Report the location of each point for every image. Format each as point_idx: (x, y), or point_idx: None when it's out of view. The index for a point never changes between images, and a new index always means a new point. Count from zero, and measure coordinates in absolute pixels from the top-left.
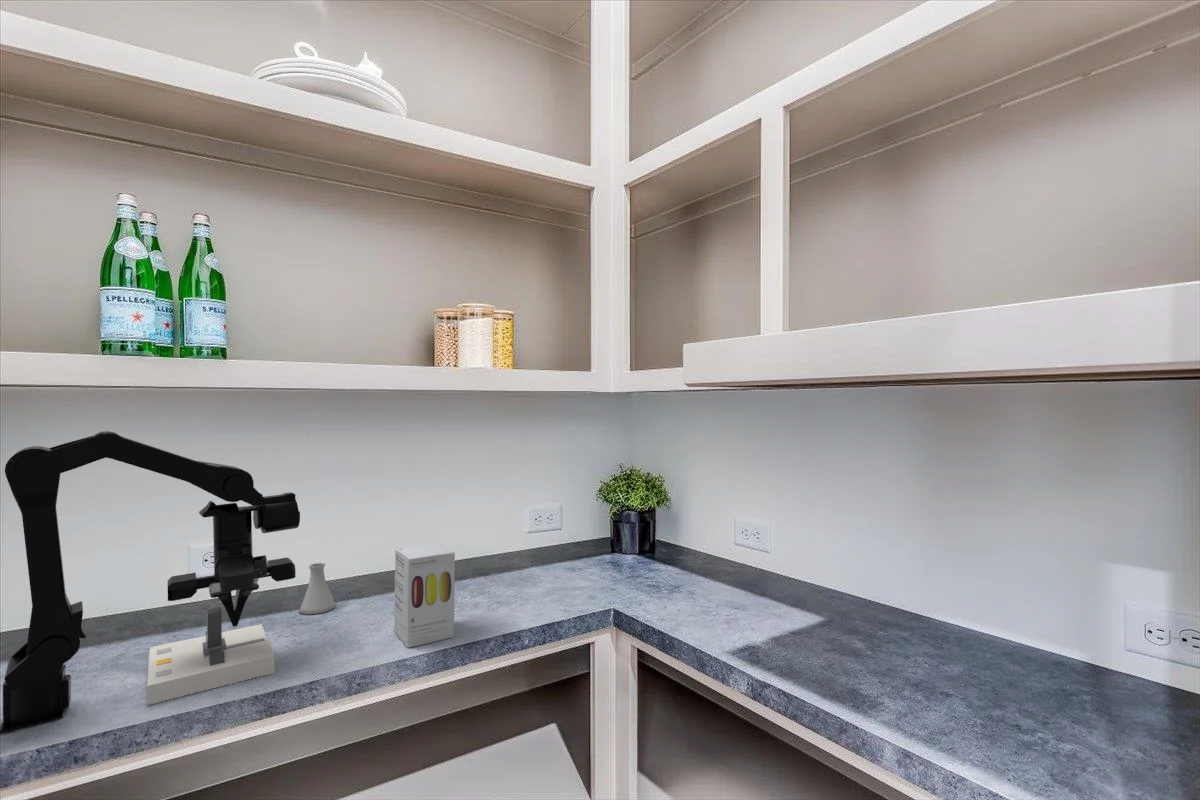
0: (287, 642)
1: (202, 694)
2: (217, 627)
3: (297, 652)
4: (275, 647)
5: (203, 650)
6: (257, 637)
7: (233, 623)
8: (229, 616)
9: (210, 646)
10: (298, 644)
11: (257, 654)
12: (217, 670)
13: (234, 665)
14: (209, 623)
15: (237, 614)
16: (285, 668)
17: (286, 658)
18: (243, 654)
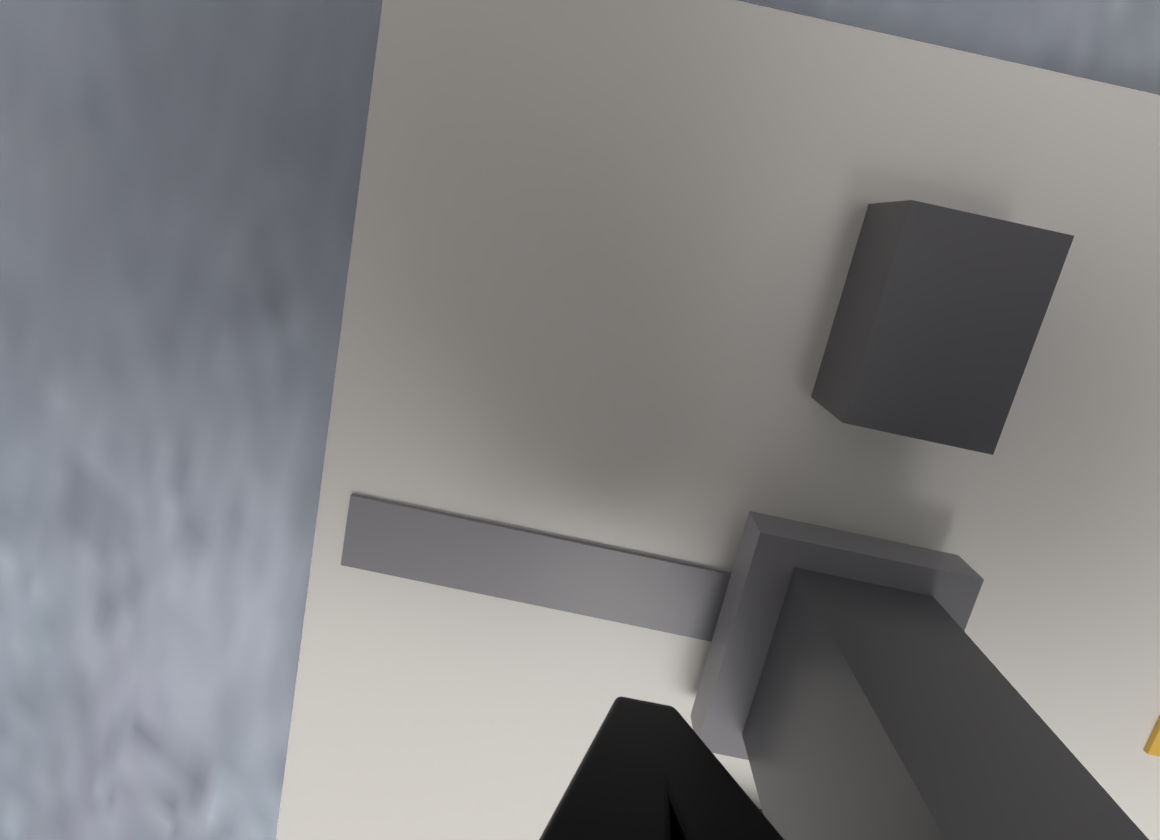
0: (170, 603)
1: (1043, 58)
2: (931, 723)
3: (152, 316)
4: (277, 577)
5: (977, 578)
6: (387, 636)
7: (677, 728)
8: (776, 831)
9: (908, 597)
10: (103, 488)
11: (532, 131)
12: (987, 63)
13: (823, 22)
14: (1107, 821)
15: (635, 808)
16: (333, 23)
17: (264, 259)
18: (644, 267)
